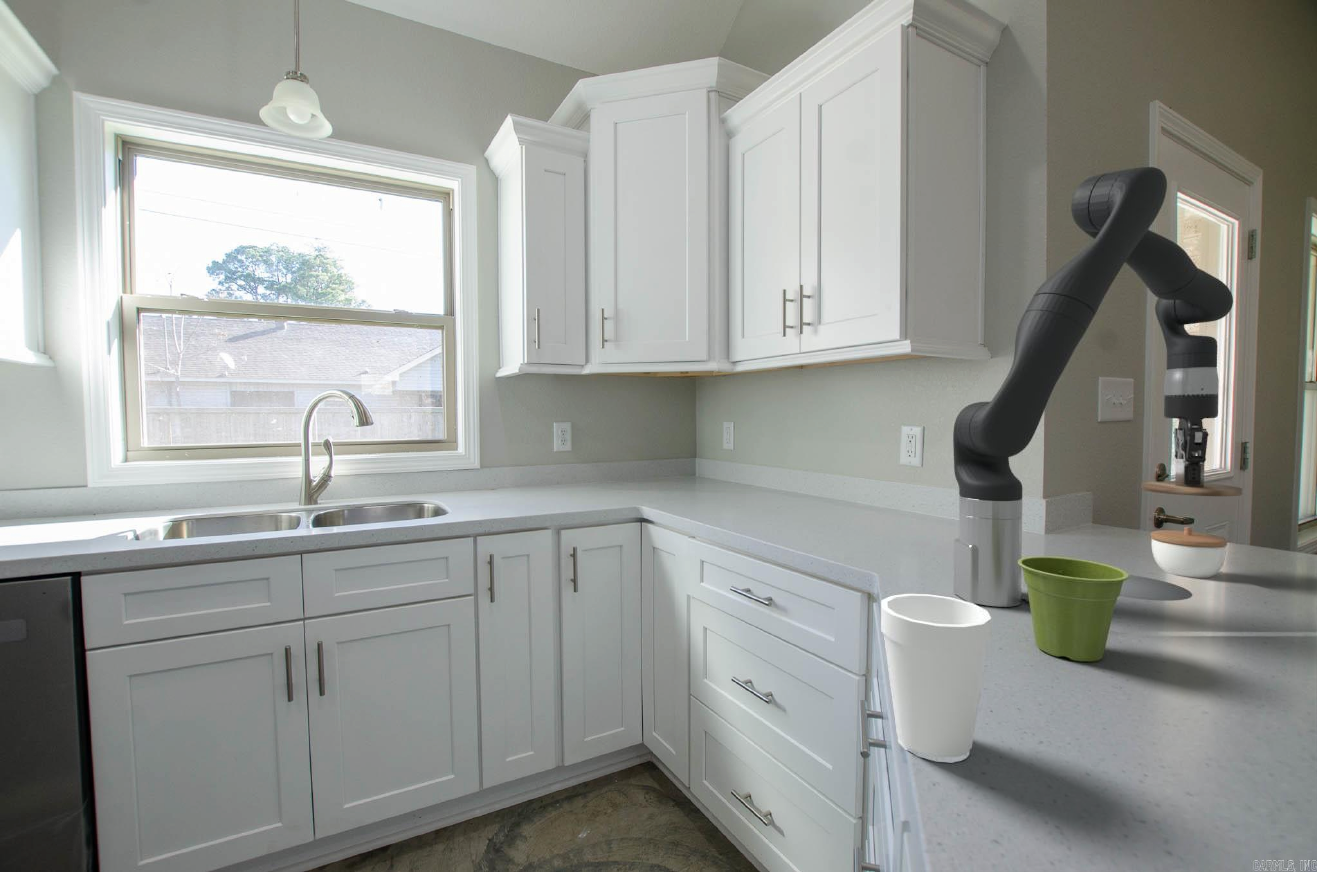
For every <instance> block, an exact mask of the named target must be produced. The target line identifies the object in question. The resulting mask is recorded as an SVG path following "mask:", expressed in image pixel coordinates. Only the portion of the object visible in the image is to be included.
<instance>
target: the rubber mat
mask: <svg viewBox="0 0 1317 872" xmlns="http://www.w3.org/2000/svg"><path fill="white" fill-rule="evenodd" d="M1192 595H1193V594H1192V592H1191V591H1190V590H1188V589H1187V588H1185V587H1182V586H1180V585H1178V584H1174V583H1171V582H1167V581H1163V580H1160V579H1155V578H1150V577H1144V576H1139V575H1132V574H1129V578H1128V579H1127V580H1125V581H1123V584H1122V588H1121V592H1120V595H1119V597H1123V598H1127V599H1129V598H1130V599H1134V600H1135V599H1137V600H1146V601H1147V600H1148V601H1160V602H1161V601H1165V602H1166V601H1168V602H1169V601H1183V600H1187V599H1190V598H1191V597H1192Z"/></svg>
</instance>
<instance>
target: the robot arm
mask: <svg viewBox="0 0 1317 872" xmlns="http://www.w3.org/2000/svg"><path fill="white" fill-rule="evenodd" d="M1167 189H1168V181H1167V176H1166V173H1165V172H1164V171H1163V170H1162V169H1160V168H1158V167H1155V166H1141V167H1135V168H1134V167H1133V168H1128V169H1121V170H1116V171H1110V172H1103V173H1101V174H1097V175H1096V174H1095V175H1093V176H1091V177H1088V178H1087V179H1085V180H1083V181H1082V182H1081V183H1080V184H1078V186H1077V188H1076V190H1075V191H1074V193H1073V196H1072V199H1071V204H1070V206H1071V207H1070V208H1071V209H1070V210H1071V215H1072V219H1073V221H1074V223H1075V224H1076V225H1077V226H1078V227H1079V229H1080V230H1082V232H1084V234H1085V233H1086V235H1087V236H1089V237H1091V239H1093V240H1092V241H1091V242H1090V243H1089V244H1088V246H1086V248H1085V249H1083V250H1082V251H1081V252H1080V253H1079V254H1077V255H1076V256H1075V257H1073V258H1072V259H1071V260H1069V261H1068V262H1067V263H1065V264H1064V265H1063V266H1061V268H1059V269H1058V270H1057V271H1056V272H1054V273H1053V274H1051V276H1049V277H1048V278H1047V279H1046V280H1044V282H1043V283H1042V284H1041V285H1040V286H1039V287H1038V288H1037V290H1036V291H1035V293H1034V294H1033V297H1031V300H1030V302H1029V304H1028V305H1027V307H1026V309H1025V311H1024V312H1023V315H1022V316H1021V319H1020V320H1019V324H1018V326H1017V329H1016V334H1015V335H1016V336H1015V341H1014V355H1013V361H1012V364H1011V368H1010V370H1009V372H1008V374H1007V377H1005V379H1004V381H1003V383H1002V385H1000V388H999V389H998V391H997V393H996V394H995V395H994V397H993V398H992V400H991V401H979V402H978V401H977V402H973V403H970V404H968V405H967V406H965V407H964V408H963V409H961V411H960V412H959V413H958V415H957V417H956V418H955V421H954V425H953V433H952V434H953V435H952V436H953V437H952V438H953V439H952V442H953V445H952V447H953V468H954V476H955V480H956V481H957V485H958V493H959V494H958V495H959V499H958V500H959V506H958V508H959V509H958V511H959V512H958V515H959V516H958V518H959V519H958V526H959V527H958V538H954V540H953V594H954V595H957V596H958V597H960V598H961V599H962V600H963V601H966V602H969V603H973V604H975V605H983V606H988V607H989V606H991V607H1001V608H1003V607H1004V608H1005V607H1006V608H1007V607H1015V606H1018V605H1021V604H1022V592H1023V590H1022V589H1023V588H1022V584H1023V581H1022V575H1023V569H1022V567H1021V566H1019V564H1018V560H1019V559H1022V558H1023V484H1022V482H1021V480H1020V479H1019V478H1018V477H1016V475H1015V474H1014V473H1013V471H1012V468H1011V466H1010V458H1011V457H1013V456H1017V455H1018V454H1020V453H1022V452H1023V451H1024V450H1025V449H1026V448H1027V447H1028V445H1029V444H1030V442H1031V441H1032V439H1033V437H1034V435H1035V434H1036V431H1037V429H1038V426H1039V424H1040V422H1041V419H1042V416H1043V414H1044V412H1045V410H1046V407H1047V404H1048V403H1049V400H1050V397H1051V395H1052V393H1053V390H1054V388H1055V387H1056V385H1057V383H1058V381H1059V380H1060V377H1061V376H1062V374H1063V372H1064V370H1065V369H1066V366H1067V365H1068V363H1069V361H1070V359H1071V358H1072V355H1073V354H1074V352H1075V350H1076V348H1077V346H1078V345H1079V343H1080V341H1081V340H1082V339H1083V337H1084V335H1085V334H1086V332H1087V330H1088V328H1089V326H1090V325H1091V323H1092V321H1093V319H1094V318H1095V316H1096V314H1097V312H1098V310H1099V308H1100V306H1101V304H1102V302H1103V299H1104V298H1105V296H1106V295H1107V293H1108V291H1109V289H1110V287H1111V286H1112V284H1113V283H1114V281H1115V279H1116V278H1117V276H1118V274H1119V272H1120V271H1121V269H1122V267H1123V266H1124V265H1125V264H1126V265H1127V266H1129V268H1130V269H1132V271H1133V272H1135V274H1136V275H1137V277H1139V279H1140V280H1141V281H1142V282H1143V283H1144V284H1145V286H1146V287H1147V288H1148V290H1149V291H1150V292H1151V293H1152V294H1153V295H1154V297H1156V298H1157V300H1156V302H1155V306H1154V311H1155V315H1156V320H1157V321H1158V323H1159V327H1160V329H1161V332H1162V336H1163V340H1164V342H1165V347H1166V372H1165V378H1164V394H1163V395H1164V397H1163V398H1164V399H1163V408H1164V409H1163V417H1164V418H1166V419H1177V420H1178V427H1176V428H1174V431H1173V436H1174V438H1173V440H1174V458H1175V460H1176V459H1184V460H1183V463H1184V484H1185V485H1188V486H1199V485H1200V483H1201V466H1199V465H1202V464H1203V463H1204V464H1205V463H1206V460H1207V457H1206V455H1207V448H1208V438H1209V437H1208V436H1209V433H1208V431H1207V428H1204V425H1203V424H1204V423H1203V420H1204V419H1215V418H1217V417H1218V416H1219V388H1220V385H1219V382H1220V380H1219V374H1218V373H1219V372H1218V368H1217V367H1218V341H1217V338H1215V337H1213V336H1209V335H1197V334H1190V333H1189V332H1188V331H1187V330H1186V329H1185V325H1192V324H1200V323H1202V324H1203V323H1211V322H1215V321H1219V320H1221V319H1223V318H1225V317H1227V315H1228V314H1229V313H1230V311H1231V309H1232V308H1233V305H1234V296H1233V294H1232V291H1231V290H1230V288H1229V286H1227V285H1226V284H1225V283H1224V281H1221V279H1219V278H1217V277H1215V276H1214V275H1212V274H1211V273H1210V274H1209V273H1208V272H1206V271H1204V270H1202V269H1201V268H1198V267H1197V265H1196V264H1195V262H1194V260H1192V258H1191V257H1190V256H1189V254H1188V253H1187V251H1186V250H1185V249H1184V248H1182V247H1181V246H1180V245H1179V244H1177V243H1176V242H1175V241H1172V240H1170V239H1169V238H1167V237H1165V236H1163V235H1161V234H1159V233H1156V232H1155V231H1152V230H1150V228H1151V226H1152V224H1153V222H1155V220H1156V218H1157V217H1158V214H1159V213H1160V210H1161V209H1162V207H1163V204H1164V202H1165V200H1166V194H1167Z"/></svg>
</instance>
